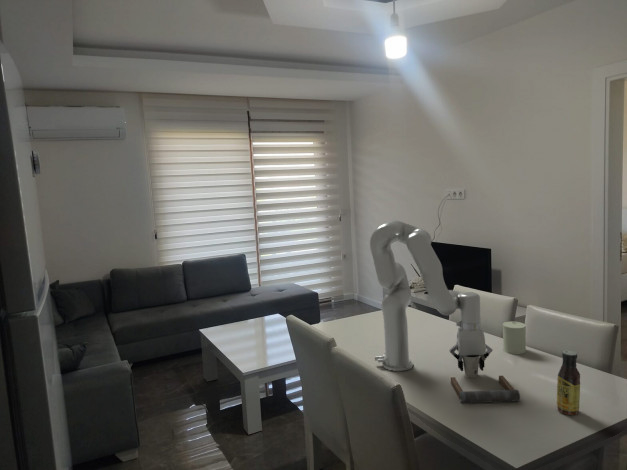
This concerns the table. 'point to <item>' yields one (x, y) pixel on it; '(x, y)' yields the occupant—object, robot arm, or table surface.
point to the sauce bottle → (568, 385)
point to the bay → (487, 393)
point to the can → (514, 337)
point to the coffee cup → (471, 365)
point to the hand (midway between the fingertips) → (471, 369)
